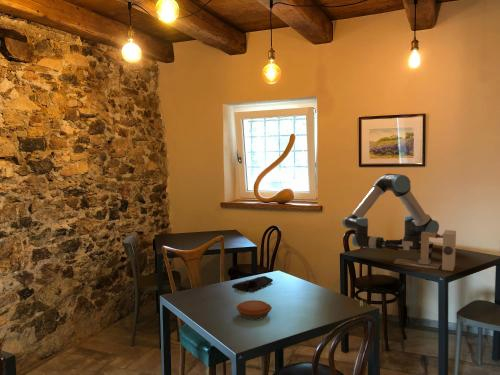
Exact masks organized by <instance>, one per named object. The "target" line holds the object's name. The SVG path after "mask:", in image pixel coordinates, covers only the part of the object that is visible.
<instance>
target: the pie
mask: <svg viewBox="0 0 500 375" xmlns="http://www.w3.org/2000/svg"><path fill="white" fill-rule="evenodd" d="M235 308H236V311H237V312H238V313H239V315H240V316H241V317H242V318H243V319H245V318H246V320H249V319H259V320H262V319H261V318H263V319H265V318H266V317H267V316H268V315H269V313H270V312H271V310H272V308H273V307H272V305H270V303H267V302H266V301H263V300H258V299H257V300H255V299H254V300H253V299H251V300H245V301H242V302H239V303H238V304H237V306H236V307H235ZM264 317H265V318H264Z"/></svg>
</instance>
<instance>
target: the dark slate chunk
mask: <svg viewBox="0 0 500 375" xmlns="http://www.w3.org/2000/svg"><path fill="white" fill-rule="evenodd" d="M272 282H274V280H273V278H270V277H268V276H265V275H263V276H262V275H261V276H256V277H255V278H251V279H247V280H243V281H240V282H237V283H234V284H232V286H231V287H232V289H235V290H238V291H240V292H244V293H245V292H247V293H254V292H256V291H260V290H261V289H262V288H265V287H266V286H268V285H269V284H271V283H272Z"/></svg>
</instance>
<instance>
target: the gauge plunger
mask: <svg viewBox="0 0 500 375" xmlns="http://www.w3.org/2000/svg"><path fill="white" fill-rule="evenodd" d="M435 239H443V234H438V232H437V233H436V235H435Z"/></svg>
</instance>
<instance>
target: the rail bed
mask: <svg viewBox="0 0 500 375" xmlns="http://www.w3.org/2000/svg"><path fill="white" fill-rule="evenodd" d="M393 264H395V265H403V266H408V267H409V266H412V267H417V268H427V269H428V268H429V269H434V270H435V269H436V270H439V268H440V267H441V266H442V263H437V262H430V263H429V265H428V264H419V263H418V260H412V259H411V260H410V259H409V260H408V259H402V258H401V259H400V258H396V260H394V262H393Z"/></svg>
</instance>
